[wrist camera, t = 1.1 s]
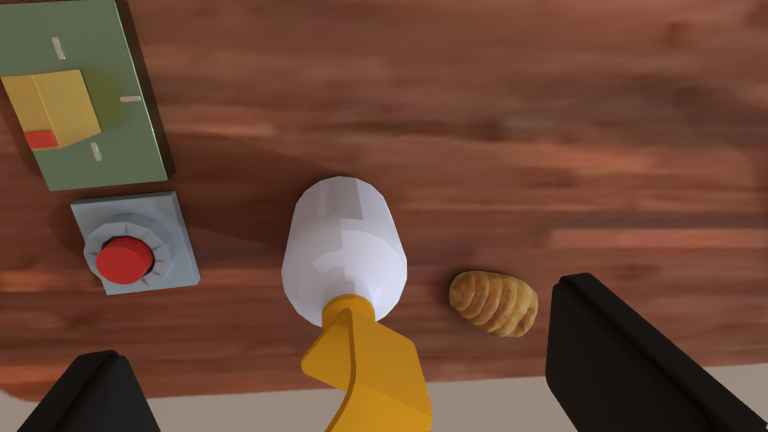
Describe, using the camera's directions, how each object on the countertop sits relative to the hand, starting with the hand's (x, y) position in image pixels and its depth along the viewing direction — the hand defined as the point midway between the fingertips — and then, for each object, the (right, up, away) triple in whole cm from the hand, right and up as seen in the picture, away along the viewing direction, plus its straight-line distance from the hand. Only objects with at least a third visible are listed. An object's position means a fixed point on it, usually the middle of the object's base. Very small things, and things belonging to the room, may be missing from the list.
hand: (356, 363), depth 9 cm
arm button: (-21, 0, +25) cm, 32 cm away
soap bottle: (-3, +3, +29) cm, 29 cm away
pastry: (+12, -5, +35) cm, 37 cm away
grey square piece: (-21, +1, +27) cm, 34 cm away
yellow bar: (-22, +12, +20) cm, 32 cm away
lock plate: (-22, +12, +22) cm, 33 cm away
